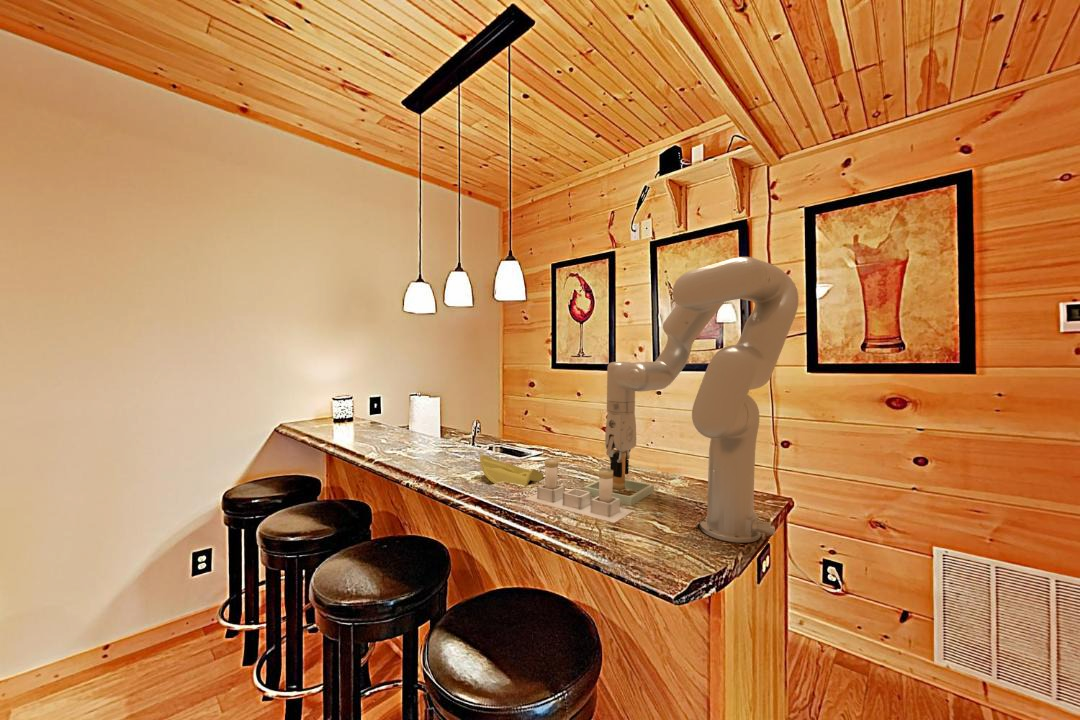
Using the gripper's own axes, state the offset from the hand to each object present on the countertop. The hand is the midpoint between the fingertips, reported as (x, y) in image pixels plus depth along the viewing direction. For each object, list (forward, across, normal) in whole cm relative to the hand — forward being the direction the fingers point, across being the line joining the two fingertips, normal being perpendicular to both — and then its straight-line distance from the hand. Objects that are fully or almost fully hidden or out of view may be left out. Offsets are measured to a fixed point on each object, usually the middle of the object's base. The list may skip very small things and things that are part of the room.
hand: (619, 474), depth 126 cm
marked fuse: (+4, 0, 0) cm, 4 cm away
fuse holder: (+7, -15, +4) cm, 17 cm away
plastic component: (+7, -6, +33) cm, 35 cm away
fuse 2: (+5, -15, -4) cm, 16 cm away
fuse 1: (+5, -15, +12) cm, 20 cm away
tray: (+7, 0, 0) cm, 7 cm away
